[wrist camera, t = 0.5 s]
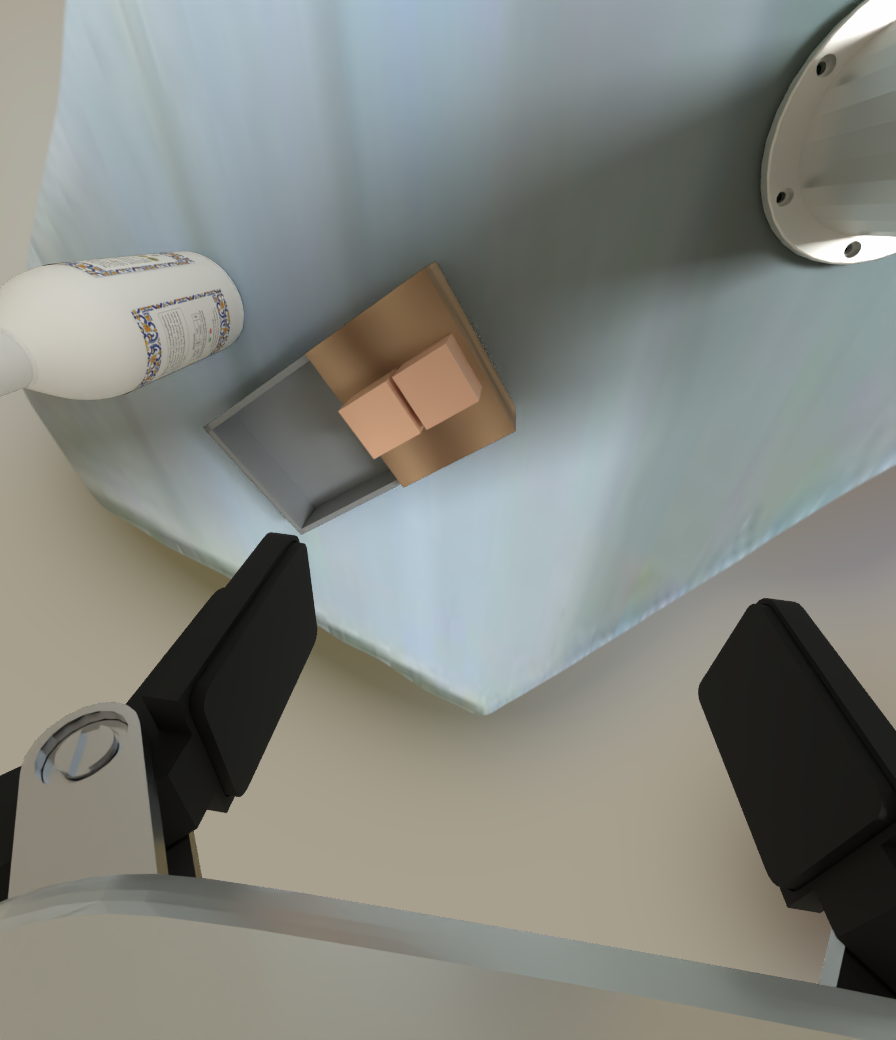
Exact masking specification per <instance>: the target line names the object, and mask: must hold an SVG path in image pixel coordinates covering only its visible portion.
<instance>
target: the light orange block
mask: <svg viewBox="0 0 896 1040" xmlns="http://www.w3.org/2000/svg"><path fill="white" fill-rule="evenodd" d="M396 371H397V369H394V370H392V371H391V372H389V373H388V374H386V375H385V376H383V377H381V378H380V379H378V380H377V381H375V382H374V383H372V384H370V385H369V386H367V387H366V388H364V389H363V390H361V391H359V392H358V393H356V394H355V395H353V396H352V397H351V398H350V399H349V400H348V401H347V402H346V403H345V404H344V405H343V406H342V408H341V409H340V410H339V411H338V412H339V413H340V414H341V416H342V417H343V418H344V420H345V421H346V422H347V424H348V425H349V426H350V428H351V429H352V431H353V432H354V433H355V435H356V436H357V437H358V439H359V440H360V441H361V443H362V444H363V445H364V447H365V448H366V449H367V451H368V452H369V453H370V455H371V456H372V457H373V459H375V458H377V457H379V456H381V455H382V454H384V453H386V452H388V451H390V450H391V449H393V448H395V447H397V446H399V445H401V444H402V443H404V442H406V441H408V440H410V439H411V438H413V437H415V436H417V435H419V434H420V433H421V431H422V429H423V427H424V425H423V424H422V422H421V421H420V419H419V418H418V416H417V415H416V413H415V412H414V410H413V409H412V407H411V405H410V404H409V402H408V401H407V399H406V398H405V396H404V395H403V393H402V392H401V390H400V389H399V387H398V386H397V384H396V383H395V381H394V380H393V378H392V377H393V375H394V374H395V373H396Z"/></svg>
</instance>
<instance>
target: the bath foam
mask: <svg viewBox="0 0 896 1040" xmlns="http://www.w3.org/2000/svg"><path fill="white" fill-rule="evenodd" d="M243 323H244V309H243V304H242V300H241V297H240V295H239V292H238V290H237V288H236V286H235V284H234V283H233V281H232V280H231V278H230V277H229V276H228V275H227V273H226V272H225V271H224V270H223V269H222V268H221V267H220V266H219V265H217V264H216V263H215V262H213V261H212V260H210V259H209V258H207V257H205V256H203V255H200V254H198V253H194V252H188V251H177V252H167V253H155V254H145V255H135V256H125V257H115V258H105V259H96V260H86V261H76V262H66V263H56V264H48V265H44V266H41V267H37V268H33V269H30V270H28V271H25V272H23V273H20V274H19V275H17V276H15V277H13V278H11V279H10V280H9V281H7V282H6V283H5V284H3V286H1V287H0V396H3V395H6V394H9V393H11V392H14V391H17V390H19V389H22V388H26V389H30V390H33V391H37V392H41V393H45V394H49V395H53V396H57V397H62V398H68V399H77V400H97V399H106V398H111V397H116V396H119V395H123V394H127V393H129V392H131V391H134V390H136V389H138V388H140V387H142V386H145V385H147V384H149V383H151V382H153V381H155V380H158V379H160V378H162V377H164V376H166V375H169V374H171V373H173V372H175V371H177V370H180V369H182V368H184V367H186V366H188V365H191V364H193V363H195V362H197V361H199V360H202V359H204V358H206V357H208V356H210V355H213V354H214V353H217V352H219V351H221V350H223V349H225V348H227V347H229V346H230V345H231V344H233V343H234V342H235V341H236V339H237V338H238V337H239V335H240V333H241V331H242V328H243Z"/></svg>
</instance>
